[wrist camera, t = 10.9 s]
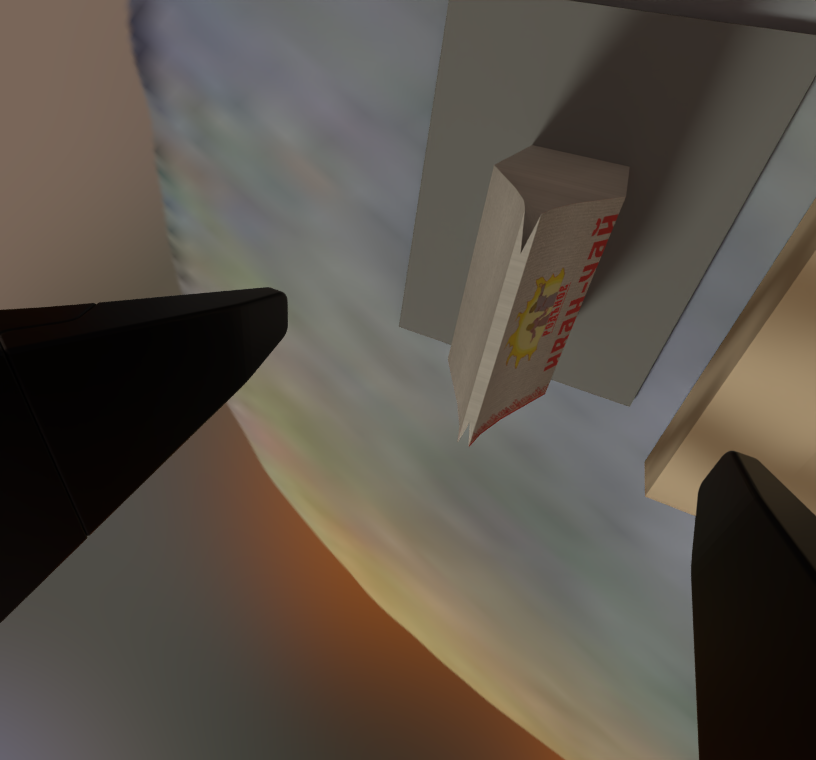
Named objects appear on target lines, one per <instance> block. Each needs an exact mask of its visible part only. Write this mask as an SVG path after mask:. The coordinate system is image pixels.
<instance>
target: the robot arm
mask: <svg viewBox="0 0 816 760" xmlns="http://www.w3.org/2000/svg"><path fill="white" fill-rule="evenodd" d="M287 328H288V301H287V296H286V295H285V293H283V292H281V291H278V290H276V289H273V288H269V287H265V288H254V289H243V290H232V291H221V292H210V293H199V294H188V295H177V296H166V297H155V298H144V299H133V300H123V301H111V302H100V303H98V304H95V303H88V304H79V305H78V304H77V305H65V306H53V307H41V308H26V309H25V308H24V309H7V310H0V623H1V622H2V621H3V620H4V619H5V618H6V617H7V616H8V615H9V614H10V613H11V612H12V611H13V610H14V609H15V608H16V607H17V606H18V605H19V604H20V603H21V602H22V601H23V600H24V599H25V598H27V597H28V596H29V595H30V594H31V593H32V592H33V591H34V590H35V589H36V588H37V587H38V586H39V585H40V584H41V583H42V582H43V581H44V580H45V579H46V578H47V577H48V576H49V575H50V574H51V573H52V572H53V571H54V570H55V569H56V568H57V567H58V566H59V565H60V564H61V563H62V562H63V561H64V560H65V559H66V558H67V557H68V556H69V555H70V554H72V553H73V552H74V551H75V550H76V549H77V548H78V547H79V546H80V544H82V543H83V542H84V541H85V540H86V539H87V536H89V535H91V534H92V533H93V532H94V531H95V530H96V529H97V528H98V527H99V526H100V525H101V524H102V523H103V522H104V521H105V520H106V519H107V518H108V517H109V516H110V515H111V514H112V513H113V512H114V511H115V510H116V509H117V508H118V507H119V506H120V505H121V504H122V503H123V502H124V501H125V500H126V499H127V498H129V497H130V495H132V494H133V493H134V492H135V491H136V490H137V489H138V488H139V487H140V486H141V485H142V484H143V483H144V482H145V481H146V480H147V479H148V478H149V477H150V476H151V475H152V474H153V473H154V472H155V471H156V470H157V469H158V468H159V467H160V466H161V465H162V464H163V463H164V462H165V461H166V460H167V459H168V458H169V457H171V456H172V454H174V453H175V451H177V450H178V449H179V448H180V447H181V446H182V445H183V444H184V443H185V442H186V441H187V440H188V439H189V438H190V437H191V436H192V435H193V434H194V433H195V432H196V431H197V430H198V429H199V428H200V427H201V426H202V425H203V424H204V423H205V422H206V421H207V420H208V419H209V418H210V417H212V415H214V414H215V413H216V412H217V411H218V410H219V409H220V408H221V407H222V406H223V405H224V404H225V403H226V402H227V401H228V400H229V399H230V398H231V397H232V396H233V395H234V394H235V393H236V392H237V391H238V390H239V389H240V388H241V387H242V386H243V385H244V384H245V383H246V382H247V381H248V380H249V378H250V377H251V376H252V375H253V374H254V373H255V371H256V370H257V369H258V368H259V367H260V365H261V364H262V363H263V362H264V361H265V359H266V358H267V357H268V356H269V354H270V353H271V352H272V351H273V350H274V348H275V347H276V346H277V345H278V343H279V342H280V341H281V340H282V339H283V337H284V336H285V334H286V332H287ZM691 585H692V608H693V631H694V654H695V677H696V700H697V723H698V746H699V760H816V515H815V514H814V513H813V512H811V511H810V510H809V509H808V508H807V507H806V506H805V505H804V504H803V503H802V502H801V501H800V500H799V499H798V498H797V497H796V496H795V495H794V494H793V493H792V492H791V491H790V490H789V489H788V488H787V487H786V486H785V485H784V484H783V483H782V482H781V481H780V480H778V479H777V478H776V477H775V476H774V475H773V474H772V473H771V472H770V471H769V470H768V469H767V468H766V467H765V466H764V465H763V464H762V463H761V462H760V461H759V460H758V459H756V458H754V457H751V456H748V455H745V454H742V453H740V452H737V451H728V452H726V453H725V454H724V455H723V456H722V457H721V458H720V460H719V461H718V462H717V463H716V465H715V466H714V467H713V468H712V470H711V471H710V472H709V474H708V475H707V476H706V477H705V479H704V480H703V481H702V483H701V485H700V488H699V491H698V497H697V507H696V518H695V528H694V539H693V549H692V562H691Z"/></svg>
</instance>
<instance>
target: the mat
mask: <svg viewBox="0 0 816 760" xmlns="http://www.w3.org/2000/svg"><path fill="white" fill-rule="evenodd" d="M815 76H816V35H811V34H804V33H797V32H790V31H782V30H775V29H768V28H761V27H754V26H747V25H740V24H733V23H725V22H718V21H711V20H704V19H697V18H690V17H683V16H676V15H669V14H661V13H654V12H647V11H640V10H633V9H626V8H619V7H612V6H604V5H597V4H590V3H583V2H576V1H569V0H449V3H448V10H447V16H446V23H445V29H444V36H443V42H442V49H441V55H440V62H439V69H438V75H437V82H436V88H435V95H434V101H433V108H432V114H431V121H430V127H429V134H428V140H427V147H426V153H425V160H424V167H423V173H422V180H421V186H420V193H419V199H418V206H417V212H416V219H415V225H414V232H413V238H412V245H411V251H410V258H409V265H408V271H407V278H406V284H405V291H404V297H403V304H402V310H401V317H400V323H399V327H401V328H404V329H407V330H410V331H413V332H416V333H419V334H422V335H424V336H427V337H430V338H433V339H436V340H439V341H442V342H445V343H448V344H450V345H451V344H452V340H453V336H454V332H455V328H456V323H457V319H458V315H459V311H460V306H461V302H462V298H463V294H464V290H465V285H466V281H467V277H468V273H469V269H470V264H471V260H472V256H473V252H474V247H475V243H476V239H477V235H478V231H479V226H480V222H481V218H482V214H483V210H484V205H485V201H486V197H487V193H488V189H489V184H490V180H491V176H492V172H493V167H494V165H495V164H497V163H499V162H501V161H503V160H504V159H506V158H508V157H510V156H512V155H514V154H516V153H518V152H520V151H522V150H523V149H525V148H527V147H529V146H531V145H534V146H539V147H543V148H548V149H552V150H557V151H561V152H566V153H570V154H575V155H579V156H583V157H588V158H592V159H597V160H601V161H606V162H610V163H615V164H619V165H624V166H628V167H630V168H629V176H628V184H627V192H626V198H625V200H624V202H623V205H622V207H621V210H620V212H619V215H618V217H617V219H616V222H615V224H614V227H613V229H612V232H611V234H610V237H609V239H608V241H607V244H606V246H605V249H604V251H603V254H602V256H601V258H600V261H599V263H598V266H597V268H596V271H595V273H594V275H593V278H592V280H591V283H590V285H589V288H588V290H587V293H586V295H585V297H584V300H583V302H582V305H581V307H580V310H579V312H578V314H577V317H576V319H575V322H574V324H573V327H572V329H571V331H570V334H569V336H568V339H567V341H566V344H565V346H564V349H563V351H562V353H561V356H560V358H559V361H558V363H557V366H556V368H555V370H554V373H553V375H552V378H551V380H554V381H557V382H560V383H563V384H565V385H568V386H571V387H574V388H577V389H580V390H583V391H586V392H588V393H591V394H594V395H597V396H600V397H603V398H606V399H609V400H612V401H614V402H617V403H620V404H623V405H626V406H629V407H630V405H631V403H632V401H633V399H634V398H635V396H636V394H637V392H638V391H639V389H640V387H641V385H642V383H643V382H644V380H645V378H646V376H647V375H648V373H649V371H650V369H651V367H652V366H653V364H654V362H655V360H656V359H657V357H658V355H659V353H660V351H661V350H662V348H663V346H664V344H665V343H666V341H667V339H668V337H669V335H670V334H671V332H672V330H673V328H674V327H675V325H676V323H677V321H678V319H679V318H680V316H681V314H682V312H683V311H684V309H685V307H686V305H687V303H688V302H689V300H690V298H691V296H692V295H693V293H694V291H695V289H696V287H697V286H698V284H699V282H700V280H701V279H702V277H703V275H704V273H705V271H706V270H707V268H708V266H709V264H710V263H711V261H712V259H713V257H714V255H715V254H716V252H717V250H718V248H719V246H720V245H721V243H722V241H723V239H724V238H725V236H726V234H727V232H728V230H729V229H730V227H731V225H732V223H733V222H734V220H735V218H736V216H737V214H738V213H739V211H740V209H741V207H742V206H743V204H744V202H745V200H746V198H747V197H748V195H749V193H750V191H751V190H752V188H753V186H754V184H755V182H756V181H757V179H758V177H759V175H760V174H761V172H762V170H763V168H764V166H765V165H766V163H767V161H768V159H769V158H770V156H771V154H772V152H773V150H774V149H775V147H776V145H777V143H778V142H779V140H780V138H781V136H782V134H783V133H784V131H785V129H786V127H787V126H788V124H789V122H790V120H791V118H792V117H793V115H794V113H795V111H796V110H797V108H798V106H799V104H800V102H801V101H802V99H803V97H804V95H805V93H806V92H807V90H808V88H809V86H810V85H811V83H812V81H813V79H814V77H815Z"/></svg>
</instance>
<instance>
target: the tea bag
mask: <svg viewBox="0 0 816 760" xmlns="http://www.w3.org/2000/svg"><path fill="white" fill-rule="evenodd" d="M629 168H630V167H628V166H624V165H619V164H615V163H610V162H606V161H601V160H597V159H592V158H588V157H583V156H579V155H575V154H570V153H566V152H561V151H557V150H552V149H548V148H543V147H539V146H534V145H531V146H529V147H527V148H525V149H523V150H522V151H520V152H518V153H516V154H514V155H512V156H510V157H508V158H506V159H504V160H503V161H501V162H499V163H497V164H495V165H494V167H493V172H492V176H491V180H490V184H489V189H488V193H487V197H486V201H485V205H484V210H483V214H482V218H481V222H480V226H479V231H478V235H477V239H476V243H475V247H474V252H473V256H472V260H471V264H470V269H469V273H468V277H467V281H466V285H465V290H464V294H463V298H462V302H461V306H460V311H459V315H458V319H457V323H456V328H455V332H454V336H453V340H452V344H451V349H450V353H449V357H448V362H449V367H450V371H451V376H452V381H453V385H454V390H455V395H456V399H457V404H458V415H459V425H460V427H459V434H458V441H459V439H460V438H461V436H462V434H463V433H464V431H465V429H466V428H467V426H468V424H469V423H470V430H469V446H470V445H471V444H472V443H473V442H474V441H475V440H476V439H477V437H478V436H479V435H480V434H481V433H483V432H484V431H485V430H487V429H488V428H489V427H491V426H492V425H494V424H495V423H496V422H498V421H499V420H500V419H502V418H504V417H506V416H507V415H509V414H511V413H513V412H514V411H516V410H518V409H520V408H521V407H523V406H525V405H527V404H528V403H530V402H532V401H534V400H535V399H537V398H539V397H541V396H542V395H544V394H545V392H546V390H547V387H548V385H549V383H550V380H551V378H552V375H553V373H554V370H555V368H556V366H557V363H558V361H559V358H560V356H561V353H562V351H563V349H564V346H565V344H566V341H567V339H568V336H569V334H570V331H571V329H572V327H573V324H574V322H575V319H576V317H577V314H578V312H579V310H580V307H581V305H582V302H583V300H584V297H585V295H586V293H587V290H588V288H589V285H590V283H591V280H592V278H593V275H594V273H595V271H596V268H597V266H598V263H599V261H600V258H601V256H602V254H603V251H604V249H605V246H606V244H607V241H608V239H609V237H610V234H611V232H612V229H613V227H614V224H615V222H616V219H617V217H618V215H619V212H620V210H621V207H622V205H623V202H624V200H625V198H626V192H627V184H628V176H629ZM457 443H458V442H457Z"/></svg>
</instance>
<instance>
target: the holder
mask: <svg viewBox="0 0 816 760" xmlns="http://www.w3.org/2000/svg"><path fill="white" fill-rule="evenodd" d="M728 451H737V452H740V453H742V454H745V455H748V456H751V457H754V458H756V459H758V460H759V461H760V462H761V463H762V464H763V465H764V466H765V467H766V468H767V469H768V470H769V471H770V472H771V473H772V474H773V475H774V476H775V477H776V478H777V479H778V480H780V481H781V482H782V483H783V484H784V485H785V486H786V487H787V488H788V489H789V490H790V491H791V492H792V493H793V494H794V495H795V496H796V497H797V498H798V499H799V500H800V501H801V502H802V503H803V504H804V505H805V506H806V507H807V508H808V509H809V510H810V511H811V512H813V513H814V514H815V515H816V198H815V200H814V202H813V203H812V205H811V206H810V208H809V209H808V211H807V212H806V214H805V215H804V217H803V218H802V220H801V222H800V223H799V225H798V226H797V228H796V229H795V231H794V232H793V234H792V235H791V237H790V239H789V240H788V242H787V243H786V245H785V246H784V248H783V249H782V251H781V252H780V254H779V256H778V257H777V259H776V260H775V262H774V263H773V265H772V266H771V268H770V269H769V271H768V272H767V274H766V276H765V277H764V279H763V280H762V282H761V283H760V285H759V286H758V288H757V289H756V291H755V293H754V294H753V296H752V297H751V299H750V300H749V302H748V303H747V305H746V306H745V308H744V310H743V311H742V313H741V314H740V316H739V317H738V319H737V320H736V322H735V323H734V325H733V326H732V328H731V330H730V331H729V333H728V334H727V336H726V337H725V339H724V340H723V342H722V343H721V345H720V347H719V348H718V350H717V351H716V353H715V354H714V356H713V357H712V359H711V360H710V362H709V364H708V365H707V367H706V368H705V370H704V371H703V373H702V374H701V376H700V377H699V379H698V380H697V382H696V384H695V385H694V387H693V388H692V390H691V391H690V393H689V394H688V396H687V397H686V399H685V401H684V402H683V404H682V405H681V407H680V408H679V410H678V411H677V413H676V414H675V416H674V418H673V419H672V421H671V422H670V424H669V425H668V427H667V428H666V430H665V431H664V433H663V434H662V436H661V438H660V439H659V441H658V442H657V444H656V445H655V447H654V448H653V450H652V451H651V453H650V455H649V456H648V458H647V459H646V461H645V496H646V497H648V498H651V499H653V500H656V501H658V502H661V503H664V504H666V505H669V506H671V507H674V508H676V509H679V510H681V511H684V512H687V513H689V514H692V515H694V516H696V507H697V497H698V491H699V488H700V485H701V483H702V481H703V480H704V479H705V477H706V476H707V475H708V474H709V472H710V471H711V470H712V468H713V467H714V466H715V465H716V463H717V462H718V461H719V460H720V458H721V457H722V456H723V455H724V454H725V453H726V452H728Z"/></svg>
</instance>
